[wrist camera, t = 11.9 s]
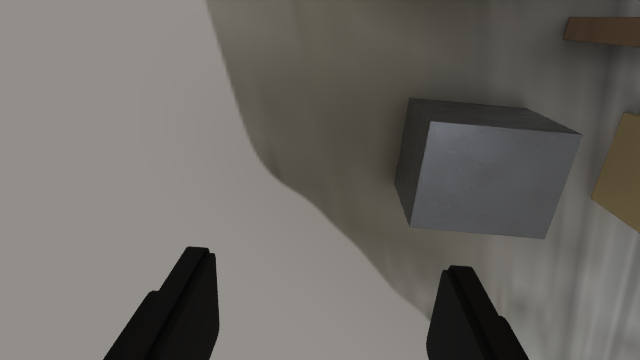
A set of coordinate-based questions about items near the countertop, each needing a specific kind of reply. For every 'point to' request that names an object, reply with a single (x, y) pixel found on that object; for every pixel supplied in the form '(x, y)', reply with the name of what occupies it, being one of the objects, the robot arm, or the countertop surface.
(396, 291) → the countertop surface
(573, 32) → the rack
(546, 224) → the grey stone cube
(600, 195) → the tan rectangular block
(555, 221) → the countertop surface
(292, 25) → the countertop surface
